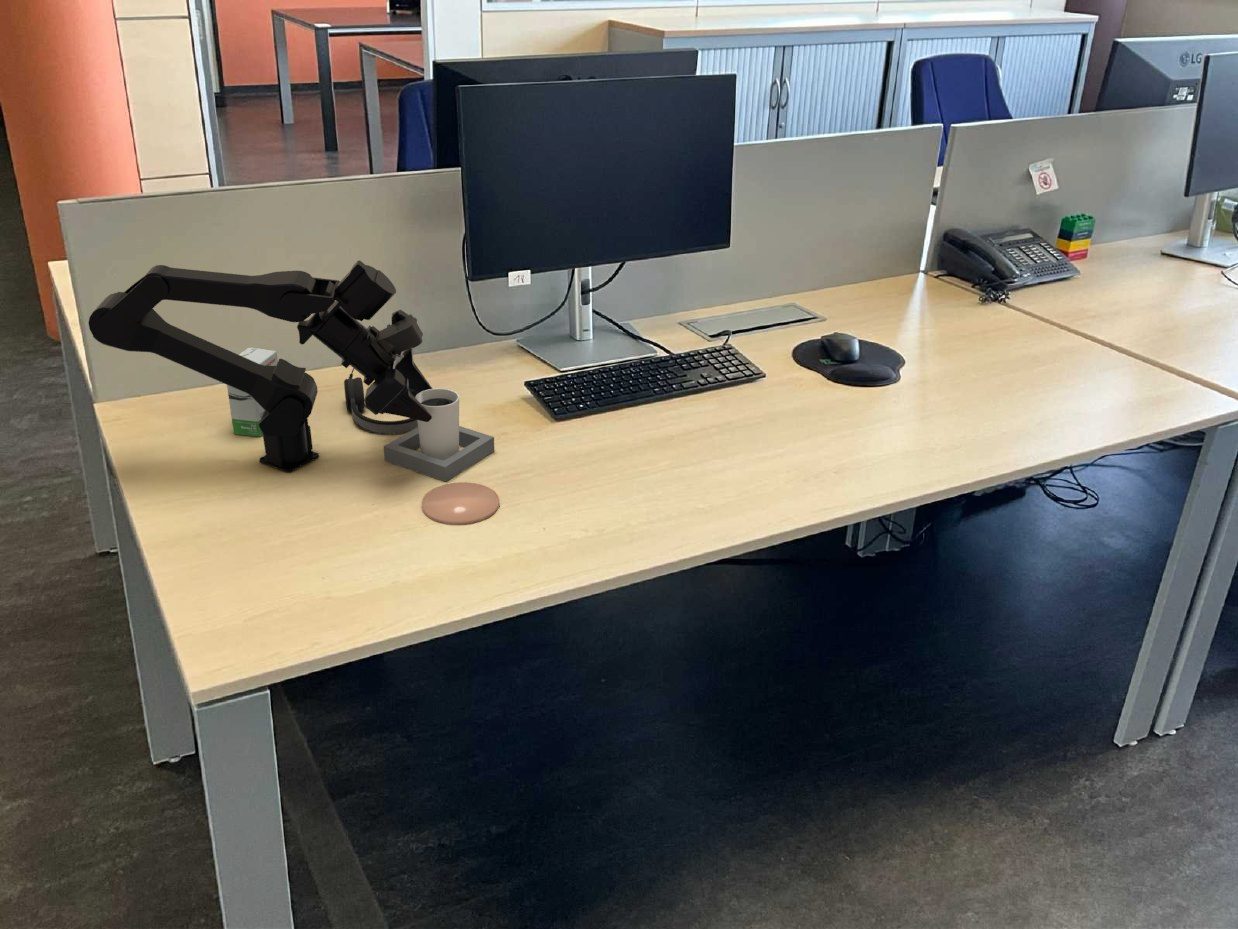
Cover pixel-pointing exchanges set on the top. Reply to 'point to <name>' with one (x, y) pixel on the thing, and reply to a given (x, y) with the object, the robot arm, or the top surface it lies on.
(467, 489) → the coaster
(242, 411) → the ink box
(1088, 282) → the top surface
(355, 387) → the headset
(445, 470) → the cup holder
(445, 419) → the grey cup
